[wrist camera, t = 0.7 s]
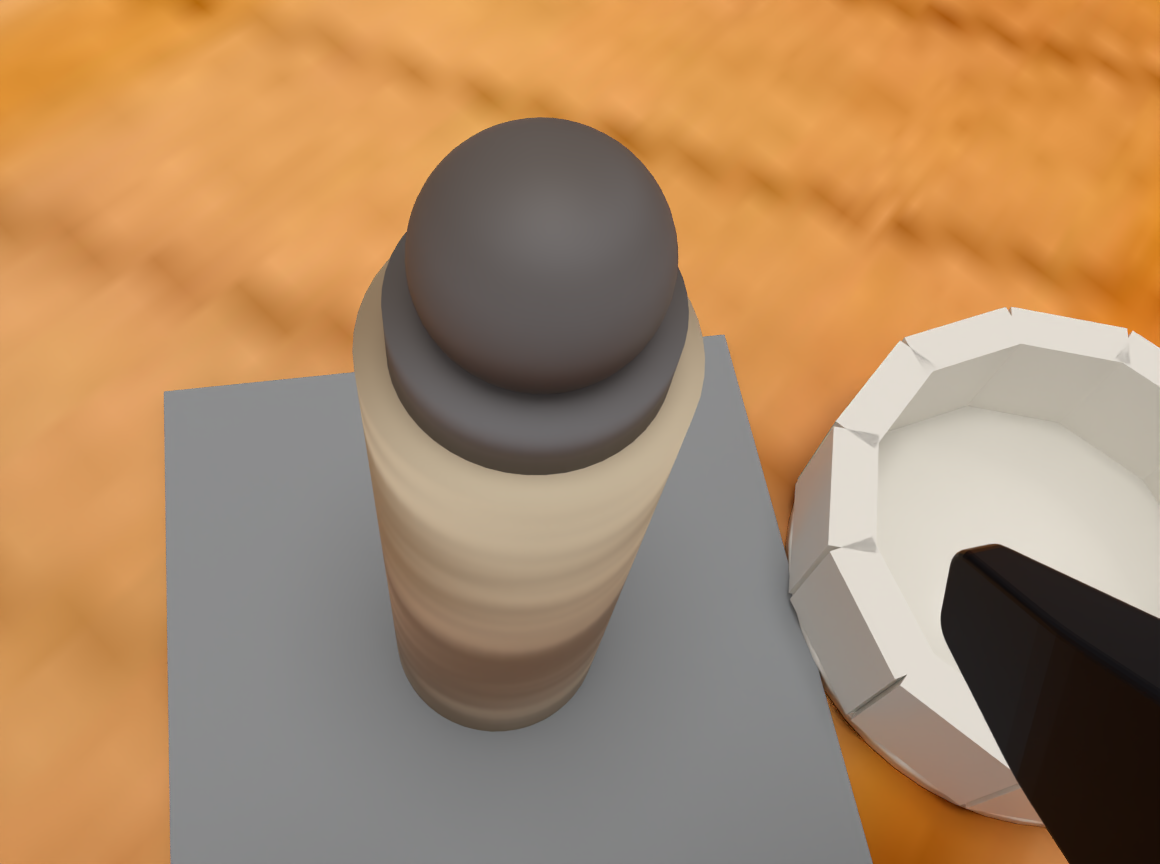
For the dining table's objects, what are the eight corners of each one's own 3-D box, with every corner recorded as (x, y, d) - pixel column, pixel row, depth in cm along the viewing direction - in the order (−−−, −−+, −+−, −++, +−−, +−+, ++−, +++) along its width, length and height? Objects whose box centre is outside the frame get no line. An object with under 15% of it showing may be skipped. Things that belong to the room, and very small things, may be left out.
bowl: (1325, 724, 26) (1449, 685, 22) (926, 907, 23) (1004, 892, 20) (1070, 343, 30) (1144, 265, 27) (711, 457, 27) (745, 385, 24)
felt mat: (881, 911, 23) (886, 910, 22) (177, 1053, 20) (173, 1054, 20) (721, 340, 29) (724, 334, 29) (167, 397, 26) (163, 391, 26)
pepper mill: (625, 690, 24) (849, 289, 10) (432, 762, 23) (404, 416, 9) (554, 515, 26) (667, -23, 12) (372, 573, 25) (273, 51, 11)
